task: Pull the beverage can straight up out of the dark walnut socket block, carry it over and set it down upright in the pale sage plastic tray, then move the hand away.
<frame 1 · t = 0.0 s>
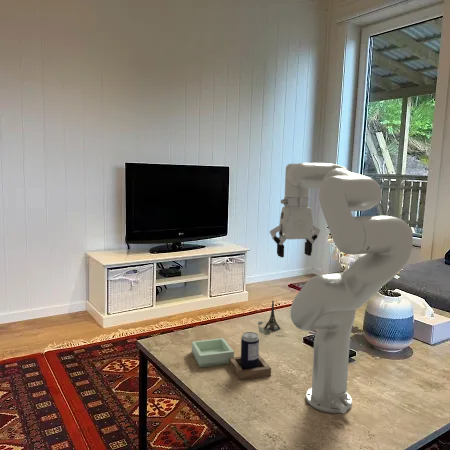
hand: (294, 255, 137), 37 cm above the table, tool pointing down, fingers open, 9 cm apart
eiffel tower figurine: (270, 330, 172), on the table
tray: (212, 357, 146), on the table
beverage can: (249, 370, 137), resting in socket block
socket block: (249, 370, 137), on the table
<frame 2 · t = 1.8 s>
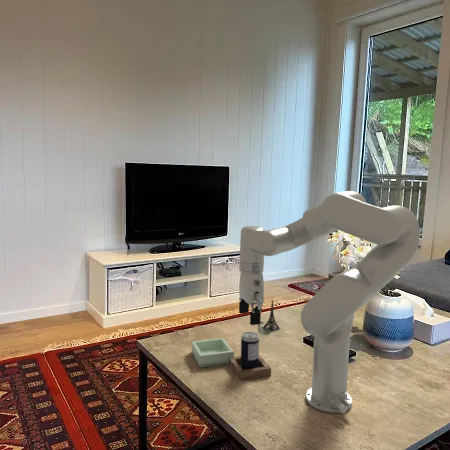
hand: (249, 318, 135), 17 cm above the table, tool pointing down, fingers open, 9 cm apart
nothing on the table moved.
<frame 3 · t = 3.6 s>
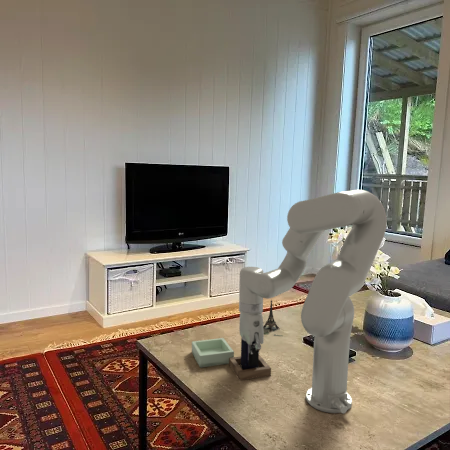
hand: (249, 359, 137), 4 cm above the table, tool pointing down, fingers closed on beverage can, 5 cm apart
beverage can: (249, 370, 137), resting in socket block, touching gripper
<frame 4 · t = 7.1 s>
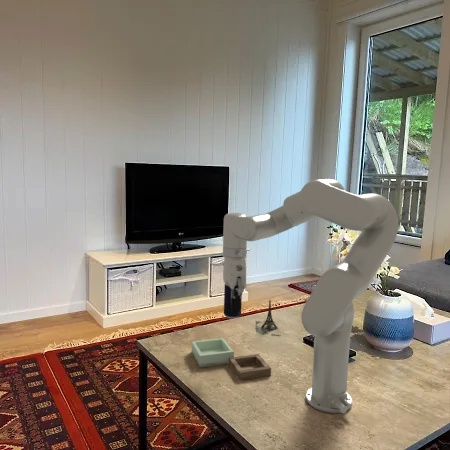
hand: (232, 305, 138), 20 cm above the table, tool pointing down, fingers closed on beverage can, 5 cm apart
beverage can: (232, 316, 139), point 16 cm above the table, touching gripper
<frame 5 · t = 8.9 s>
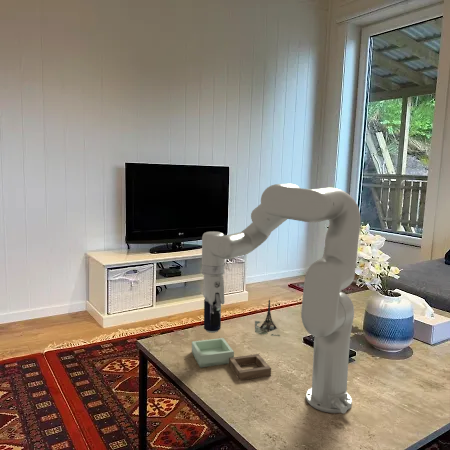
hand: (212, 320, 144), 13 cm above the table, tool pointing down, fingers closed on beverage can, 5 cm apart
beverage can: (212, 330, 145), point 10 cm above the table, touching gripper
when the fingers open (6 cm above the table, at t = 10.5 s): beverage can drops 2 cm, resting on tray.
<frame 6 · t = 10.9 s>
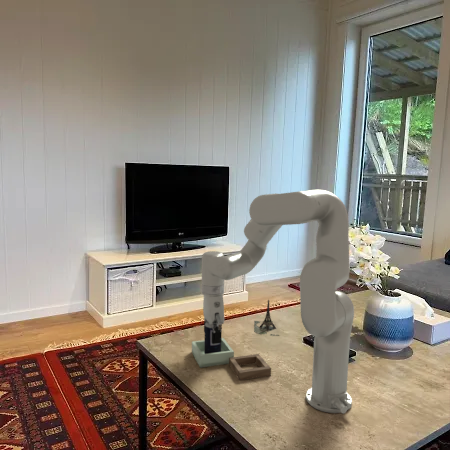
hand: (212, 337, 145), 7 cm above the table, tool pointing down, fingers open, 9 cm apart
beverage can: (212, 355, 146), point 1 cm above the table, touching tray
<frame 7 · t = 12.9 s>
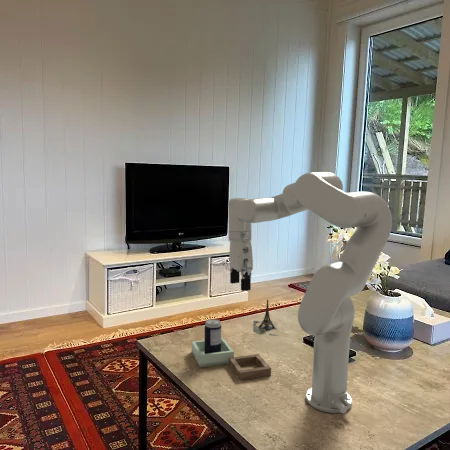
hand: (240, 286, 142), 25 cm above the table, tool pointing down, fingers open, 9 cm apart
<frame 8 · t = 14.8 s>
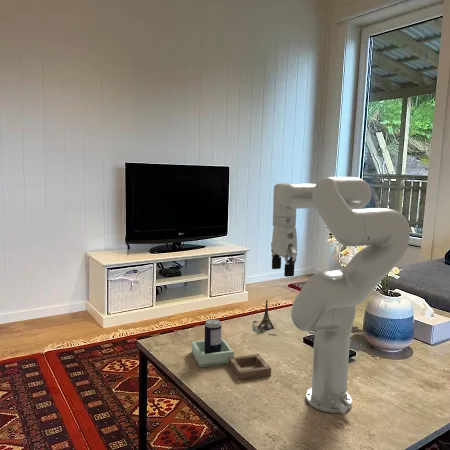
hand: (282, 272, 142), 30 cm above the table, tool pointing down, fingers open, 9 cm apart
at the end: beverage can 0.3 cm off-centre on the tray, point 0.8 cm above the tray's base; beverage can tilted 0°; the gripper is holding nothing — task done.
